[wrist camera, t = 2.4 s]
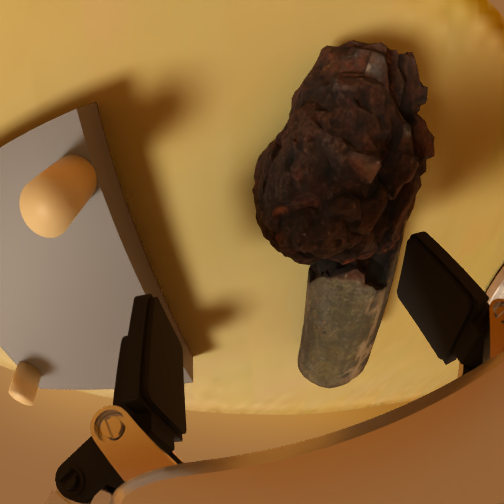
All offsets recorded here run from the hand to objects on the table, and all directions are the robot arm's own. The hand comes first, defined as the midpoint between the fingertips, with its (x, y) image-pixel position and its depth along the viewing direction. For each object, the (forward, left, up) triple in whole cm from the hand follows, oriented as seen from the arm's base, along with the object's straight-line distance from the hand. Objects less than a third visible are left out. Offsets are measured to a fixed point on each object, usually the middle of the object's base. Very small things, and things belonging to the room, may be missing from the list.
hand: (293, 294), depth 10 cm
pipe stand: (+13, 0, -5) cm, 13 cm away
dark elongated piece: (-3, +1, -5) cm, 6 cm away
